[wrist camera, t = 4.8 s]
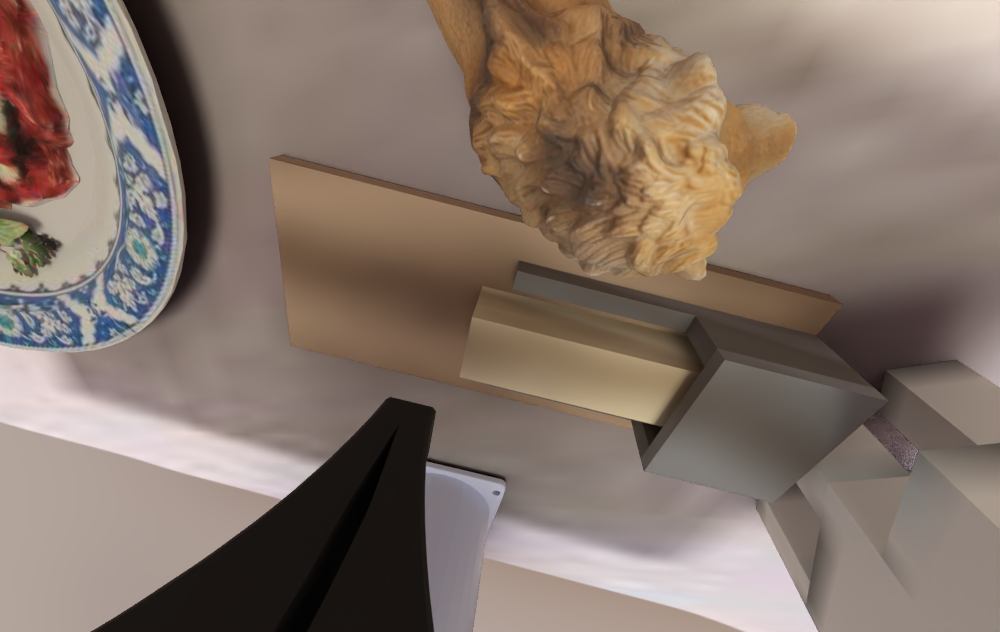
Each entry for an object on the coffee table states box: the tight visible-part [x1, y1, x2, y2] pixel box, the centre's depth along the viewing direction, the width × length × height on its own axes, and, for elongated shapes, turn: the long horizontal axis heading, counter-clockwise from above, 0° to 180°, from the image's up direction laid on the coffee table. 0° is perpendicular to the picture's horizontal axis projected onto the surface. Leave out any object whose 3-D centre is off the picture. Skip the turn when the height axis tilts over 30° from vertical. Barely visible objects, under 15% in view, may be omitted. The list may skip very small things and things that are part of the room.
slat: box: [460, 286, 705, 427], centre depth 15 cm, size 3×12×2 cm, turn 78°
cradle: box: [269, 155, 888, 502], centre depth 15 cm, size 9×22×4 cm, turn 78°
